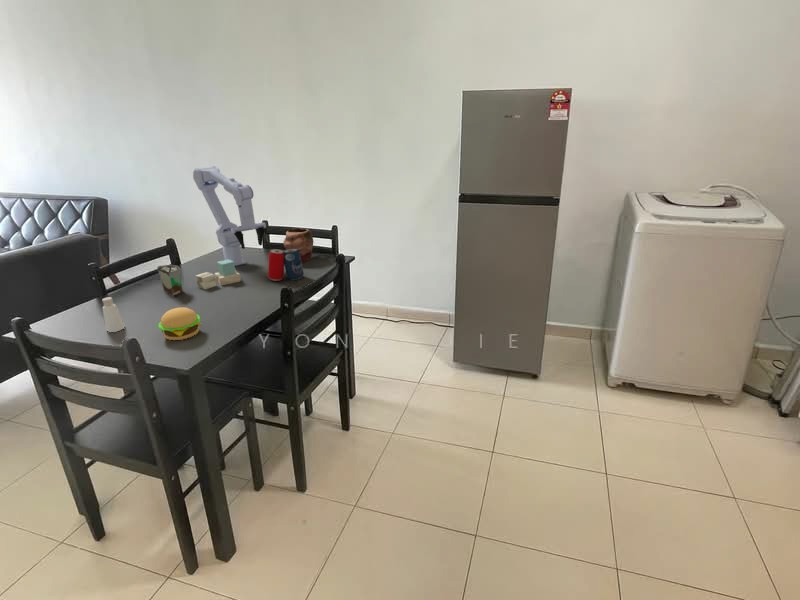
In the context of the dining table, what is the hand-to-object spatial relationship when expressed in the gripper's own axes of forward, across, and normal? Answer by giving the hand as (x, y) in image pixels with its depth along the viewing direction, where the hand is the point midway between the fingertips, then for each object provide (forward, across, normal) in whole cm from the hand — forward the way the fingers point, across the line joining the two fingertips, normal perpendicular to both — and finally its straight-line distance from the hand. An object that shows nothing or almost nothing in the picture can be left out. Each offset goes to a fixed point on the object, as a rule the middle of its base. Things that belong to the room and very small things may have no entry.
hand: (251, 246), depth 197 cm
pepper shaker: (+11, -58, -28) cm, 66 cm away
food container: (+11, -34, -6) cm, 36 cm away
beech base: (+11, -14, -6) cm, 19 cm away
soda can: (+11, +9, -22) cm, 26 cm away
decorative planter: (+11, +23, 0) cm, 25 cm away
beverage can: (+10, +1, -19) cm, 22 cm away
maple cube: (+10, -23, -8) cm, 26 cm away
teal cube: (+7, -14, -6) cm, 17 cm away
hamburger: (+11, -42, -46) cm, 64 cm away
